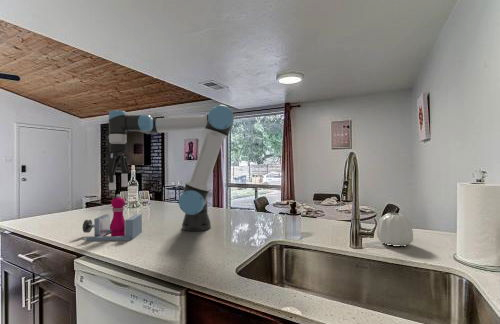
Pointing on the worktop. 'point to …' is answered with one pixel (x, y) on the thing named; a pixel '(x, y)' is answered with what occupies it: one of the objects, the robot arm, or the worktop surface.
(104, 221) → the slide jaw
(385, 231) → the white pumpkin
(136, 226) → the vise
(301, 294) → the worktop surface
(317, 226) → the worktop surface
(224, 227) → the worktop surface
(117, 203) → the pepper mill
